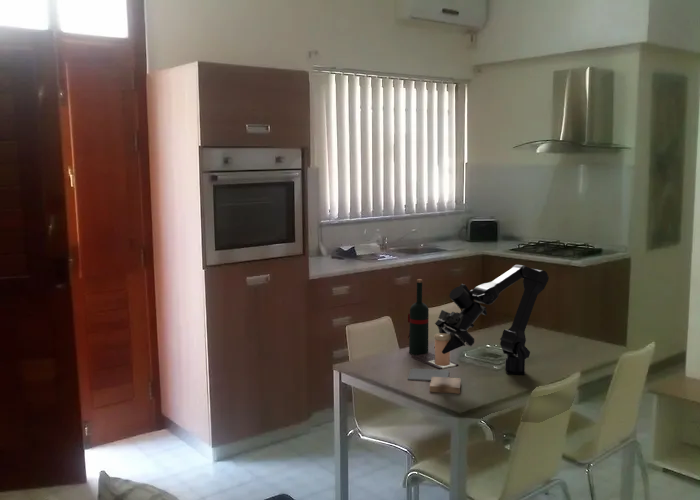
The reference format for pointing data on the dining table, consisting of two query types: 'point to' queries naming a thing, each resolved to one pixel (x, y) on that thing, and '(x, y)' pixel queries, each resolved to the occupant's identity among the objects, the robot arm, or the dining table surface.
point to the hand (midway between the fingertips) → (438, 351)
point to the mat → (426, 374)
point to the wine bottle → (418, 324)
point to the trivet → (445, 385)
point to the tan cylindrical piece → (441, 349)
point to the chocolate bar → (432, 360)
